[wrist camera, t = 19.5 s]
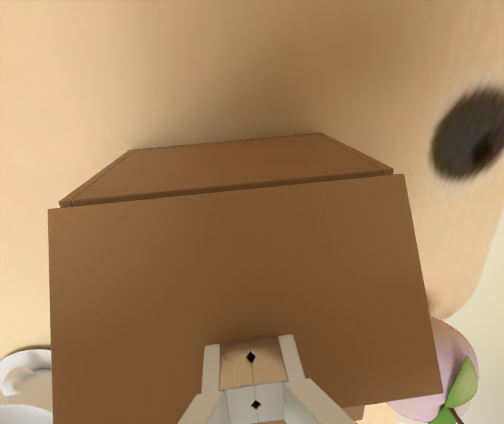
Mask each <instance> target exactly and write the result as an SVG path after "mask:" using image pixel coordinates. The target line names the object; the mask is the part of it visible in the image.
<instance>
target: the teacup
mask: <svg viewBox="0 0 504 424" xmlns="http://www.w3.org/2000/svg"><path fill="white" fill-rule="evenodd" d="M0 424H53V417H52V372H51V350H45V349H34V350H25V351H20V352H17V353H14V354H11V355H9V356H7V357H5V358H4V359H2V360H1V361H0Z"/></svg>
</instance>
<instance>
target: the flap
mask: <svg viewBox="0 0 504 424" xmlns="http://www.w3.org/2000/svg"><path fill="white" fill-rule="evenodd" d="M48 239H49V283H50V328H51V372H52V417H53V424H178V422H179V421H180V419H181V418H182V416H183V414H184V413H185V411H186V410H187V408H188V407H189V405H190V404H191V402H192V401H193V399H194V398H195V396H196V395H197V394H201V391H202V376H203V361H204V349H205V346H206V345H212V344H221V343H229V342H239V341H248V340H252V339H259V338H265V337H272V336H277V337H278V336H281V335H289V334H292V335H293V336H294V340H295V343H296V347H297V350H298V354H299V357H300V361H301V364H302V368H303V371H304V375H305V378H306V379H308V378H310V379H311V380H312V381H314V382H315V383H316V384H317V385H318V386H319V387H320V388H321V389H322V390H323V391H324V392H325V393H326V394H327V395H328V396H329V397H330V398H331V399H332V400H333V401H334V402H335V403H336V404H337V405H339V406H340V407H341V408H342V409H343V408H350V407H357V406H363V405H370V404H377V403H383V402H390V401H397V400H403V399H410V398H417V397H423V396H430V395H437V394H443V393H444V391H443V386H442V380H441V375H440V369H439V364H438V358H437V353H436V347H435V342H434V336H433V331H432V325H431V320H430V314H429V309H428V303H427V298H426V292H425V287H424V281H423V276H422V270H421V265H420V259H419V254H418V248H417V243H416V237H415V232H414V226H413V221H412V215H411V210H410V205H409V199H408V194H407V188H406V183H405V177H404V174H396V175H386V176H376V177H366V178H356V179H346V180H336V181H326V182H316V183H306V184H296V185H286V186H276V187H266V188H256V189H246V190H236V191H226V192H216V193H206V194H196V195H186V196H176V197H166V198H156V199H146V200H136V201H126V202H115V203H105V204H95V205H85V206H75V207H65V208H55V209H48Z"/></svg>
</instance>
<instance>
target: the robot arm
mask: <svg viewBox="0 0 504 424" xmlns="http://www.w3.org/2000/svg"><path fill="white" fill-rule="evenodd" d="M276 420H285V422H286V424H357V423H356V422H355V421H354V420H353V419H352V418H351V417H350V416H349V415H348V414H347V413H346V412H345V411H344V410H343V409H342V408H341V407H340V406H339V405H337V404H336V403H335V402H334V401H333V400H332V399H331V398H330V397H329V396H328V395H327V394H326V393H325V392H324V391H323V390H322V389H321V388H320V387H319V386H318V385H317V384H316V383H315V382H314V381H312V380H311V379H310V378H308V379H306V378H305V375H304V371H303V368H302V364H301V361H300V357H299V354H298V350H297V347H296V343H295V340H294V336H293V335H292V334H289V335H281V336H278V337H277V336H272V337H265V338H259V339H252V340H248V341H239V342H229V343H221V344H212V345H206V346H205V349H204V361H203V376H202V391H201V394H197V395H196V396H195V398H194V399H193V401H192V402H191V404H190V405H189V407H188V408H187V410H186V411H185V413H184V414H183V416H182V418H181V419H180V421H179V422H178V424H253V423H259V422H267V421H276Z"/></svg>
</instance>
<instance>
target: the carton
mask: <svg viewBox="0 0 504 424" xmlns="http://www.w3.org/2000/svg"><path fill="white" fill-rule="evenodd" d="M386 175H393V169H392V168H390V167H388V166H386V165H384V164H382V163H380V162H378V161H376V160H375V159H373V158H371V157H369V156H367V155H365V154H363V153H361V152H359V151H357V150H355V149H353V148H351V147H349V146H347V145H345V144H343V143H341V142H339V141H337V140H335V139H333V138H331V137H329V136H327V135H325V134H323V133H317V134H306V135H295V136H283V137H272V138H261V139H250V140H239V141H227V142H216V143H205V144H194V145H182V146H171V147H160V148H149V149H138V150H129V151H128V152H126V153H125V154H123V155H122V156H121V157H119V158H118V159H116V160H115V161H114V162H112V163H111V164H110V165H108V166H107V167H106V168H104V169H103V170H101V171H100V172H99V173H97V174H96V175H95V176H93V177H92V178H91V179H89V180H88V181H86V182H85V183H84V184H82V185H81V186H80V187H78V188H77V189H76V190H74V191H73V192H71V193H70V194H69V195H67V196H66V197H65V198H63V199H62V200H60V201H59V205H60V207H61V208H65V207H75V206H85V205H95V204H105V203H115V202H126V201H136V200H146V199H156V198H166V197H176V196H186V195H196V194H206V193H216V192H226V191H236V190H246V189H256V188H266V187H276V186H286V185H296V184H306V183H316V182H326V181H336V180H346V179H356V178H366V177H376V176H386ZM364 407H365V405H363V406H357V407H350V408H343V410H344V411H345V412H346V413H347V414H348V415H349V416H350V417H351V418H352V419H353V420H354V421H356V420H362V418H363V413H364ZM253 424H286V422H285V420H276V421H267V422H259V423H253Z"/></svg>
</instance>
